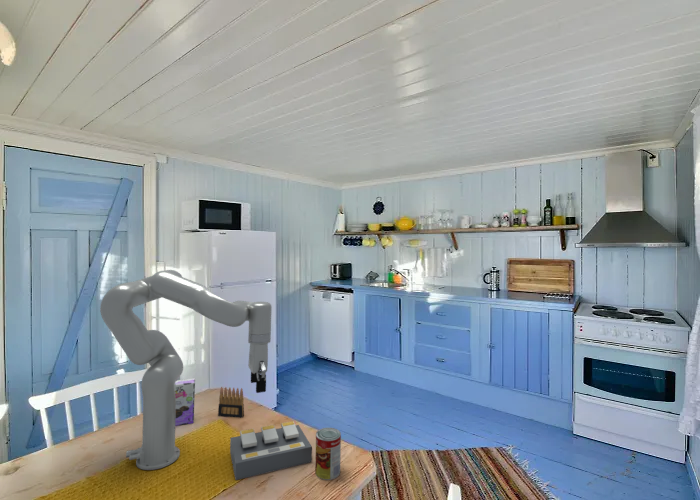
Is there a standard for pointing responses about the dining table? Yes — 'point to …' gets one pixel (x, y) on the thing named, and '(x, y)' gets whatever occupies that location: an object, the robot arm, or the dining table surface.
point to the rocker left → (248, 438)
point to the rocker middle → (269, 434)
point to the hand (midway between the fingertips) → (257, 386)
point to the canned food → (328, 453)
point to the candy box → (184, 401)
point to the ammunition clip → (231, 403)
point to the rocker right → (289, 430)
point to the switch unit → (269, 454)
